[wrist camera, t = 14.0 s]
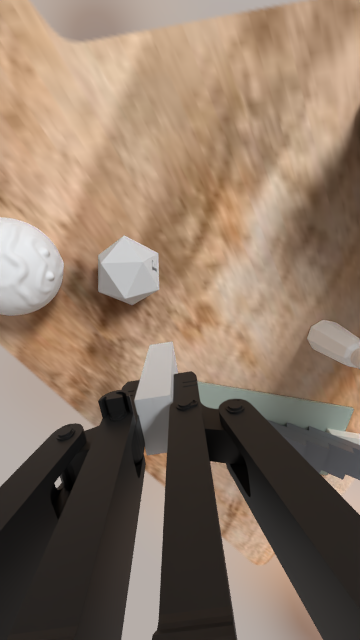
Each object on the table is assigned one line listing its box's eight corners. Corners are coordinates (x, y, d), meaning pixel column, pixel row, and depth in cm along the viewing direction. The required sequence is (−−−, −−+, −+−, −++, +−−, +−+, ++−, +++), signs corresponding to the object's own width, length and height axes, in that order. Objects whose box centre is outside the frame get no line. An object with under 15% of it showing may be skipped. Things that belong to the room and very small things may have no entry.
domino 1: (234, 445, 46) (296, 472, 42) (242, 419, 44) (306, 445, 41) (236, 439, 47) (296, 465, 44) (243, 415, 46) (305, 439, 42)
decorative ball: (83, 300, 41) (47, 321, 29) (6, 308, 41) (-60, 331, 30) (67, 218, 38) (20, 204, 26) (-16, 227, 38) (-99, 217, 27)
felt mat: (177, 450, 48) (177, 452, 48) (193, 380, 45) (193, 382, 44) (325, 472, 50) (327, 475, 49) (351, 407, 46) (353, 409, 46)
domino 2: (256, 448, 46) (319, 475, 42) (263, 423, 45) (329, 449, 41) (257, 442, 47) (318, 468, 44) (264, 418, 46) (328, 443, 43)
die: (143, 308, 42) (174, 298, 34) (87, 305, 38) (107, 292, 29) (142, 258, 43) (172, 236, 35) (87, 249, 38) (107, 221, 30)
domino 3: (278, 451, 46) (343, 479, 42) (286, 426, 45) (354, 453, 41) (279, 446, 47) (341, 472, 44) (287, 422, 46) (352, 447, 43)
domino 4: (322, 458, 46) (376, 467, 47) (332, 434, 45) (387, 443, 46) (317, 452, 48) (370, 460, 48) (326, 428, 47) (380, 437, 47)
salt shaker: (339, 316, 42) (394, 338, 32) (340, 347, 44) (394, 379, 33) (305, 322, 42) (348, 347, 32) (307, 353, 44) (349, 387, 33)
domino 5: (300, 455, 46) (366, 483, 43) (309, 430, 45) (378, 457, 41) (300, 449, 48) (364, 476, 44) (308, 425, 46) (375, 450, 43)
